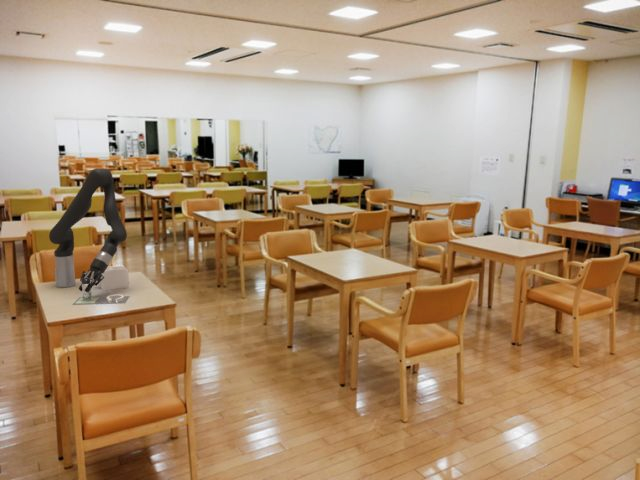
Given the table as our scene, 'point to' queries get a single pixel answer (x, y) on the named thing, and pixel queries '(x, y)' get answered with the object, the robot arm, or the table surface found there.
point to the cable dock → (103, 300)
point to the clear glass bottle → (84, 284)
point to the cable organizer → (115, 278)
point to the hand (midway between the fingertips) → (83, 290)
